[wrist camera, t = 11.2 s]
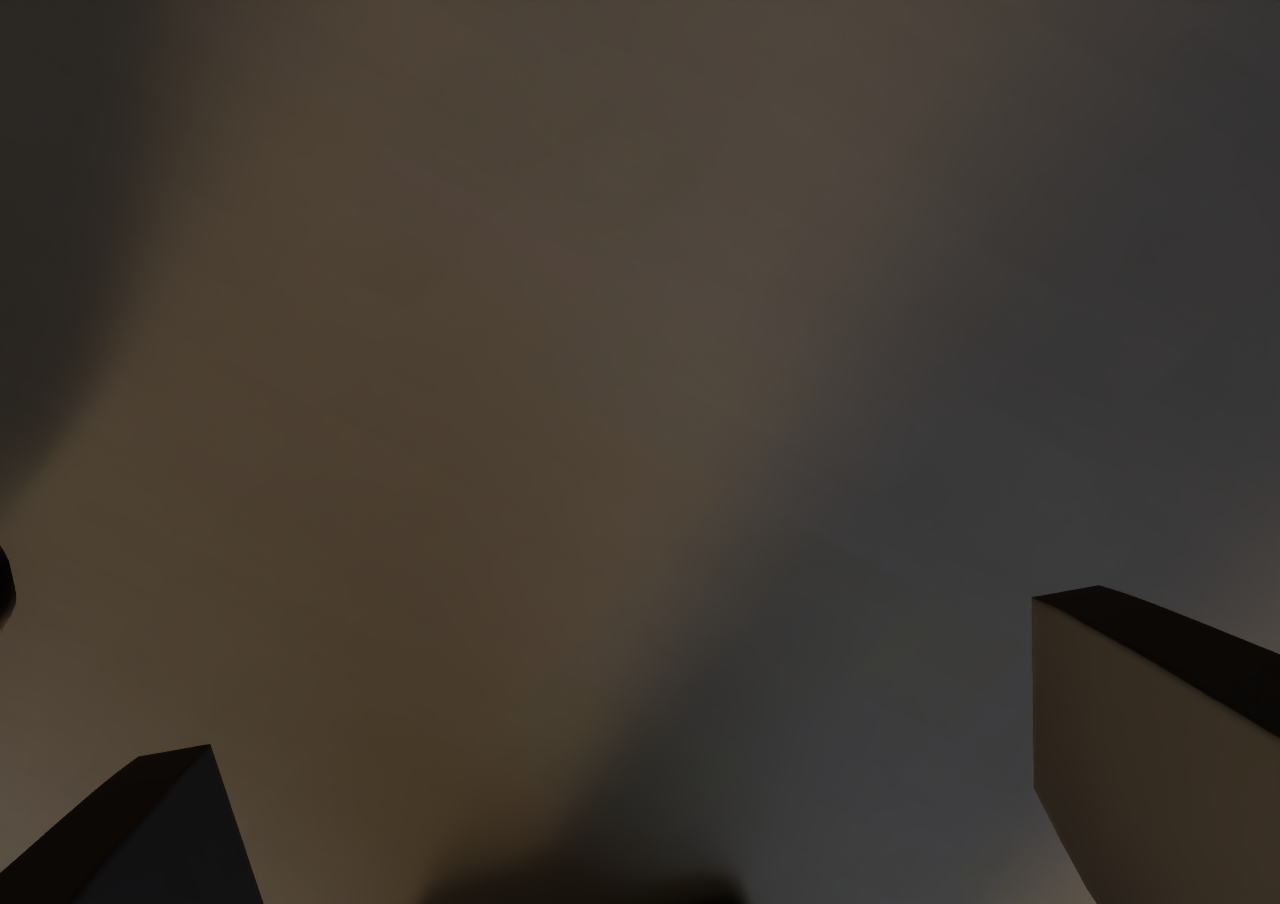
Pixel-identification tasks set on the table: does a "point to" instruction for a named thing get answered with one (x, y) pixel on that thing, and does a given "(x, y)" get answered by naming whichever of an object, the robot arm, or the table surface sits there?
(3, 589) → the sunglasses case
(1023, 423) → the table surface
